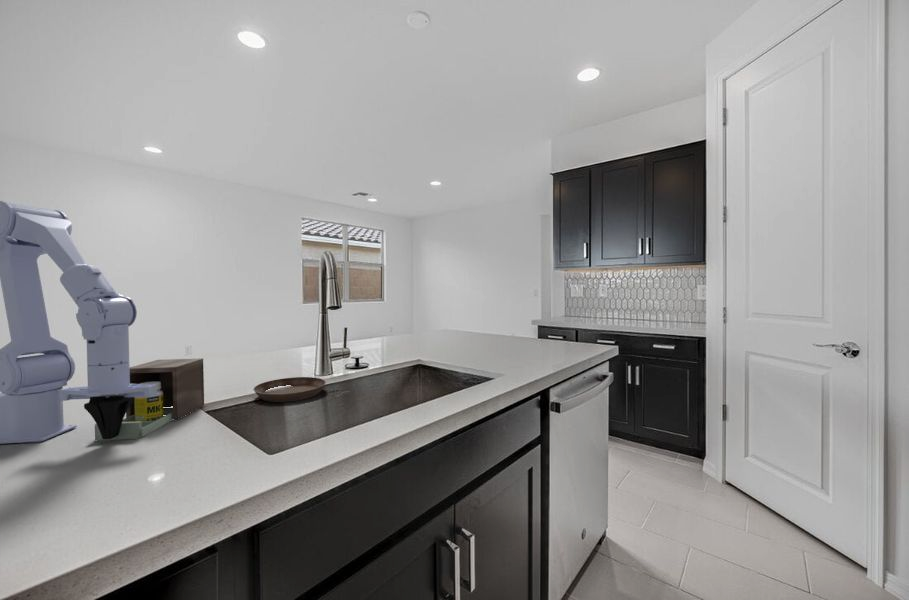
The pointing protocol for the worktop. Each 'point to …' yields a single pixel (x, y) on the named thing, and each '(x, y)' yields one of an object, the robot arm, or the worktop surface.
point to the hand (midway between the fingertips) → (110, 437)
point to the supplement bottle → (149, 405)
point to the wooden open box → (173, 383)
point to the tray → (138, 426)
